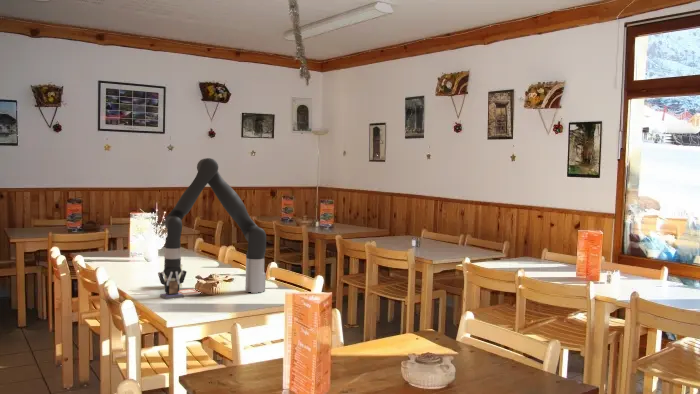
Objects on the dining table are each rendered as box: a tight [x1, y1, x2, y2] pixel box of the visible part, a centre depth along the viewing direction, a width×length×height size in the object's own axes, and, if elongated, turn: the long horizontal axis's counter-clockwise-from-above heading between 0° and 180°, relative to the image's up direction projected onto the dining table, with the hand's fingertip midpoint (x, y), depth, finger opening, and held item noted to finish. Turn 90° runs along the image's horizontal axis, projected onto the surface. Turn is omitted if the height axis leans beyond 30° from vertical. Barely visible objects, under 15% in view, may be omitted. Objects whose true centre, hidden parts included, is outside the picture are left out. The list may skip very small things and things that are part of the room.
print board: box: [178, 288, 202, 296], centre depth 306 cm, size 11×10×1 cm
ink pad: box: [159, 292, 185, 300], centre depth 295 cm, size 9×7×1 cm
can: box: [163, 264, 183, 289], centre depth 317 cm, size 9×9×12 cm
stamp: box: [165, 281, 178, 295], centre depth 295 cm, size 4×4×6 cm
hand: (172, 292), depth 295 cm, fingers closed on stamp, 4 cm apart
